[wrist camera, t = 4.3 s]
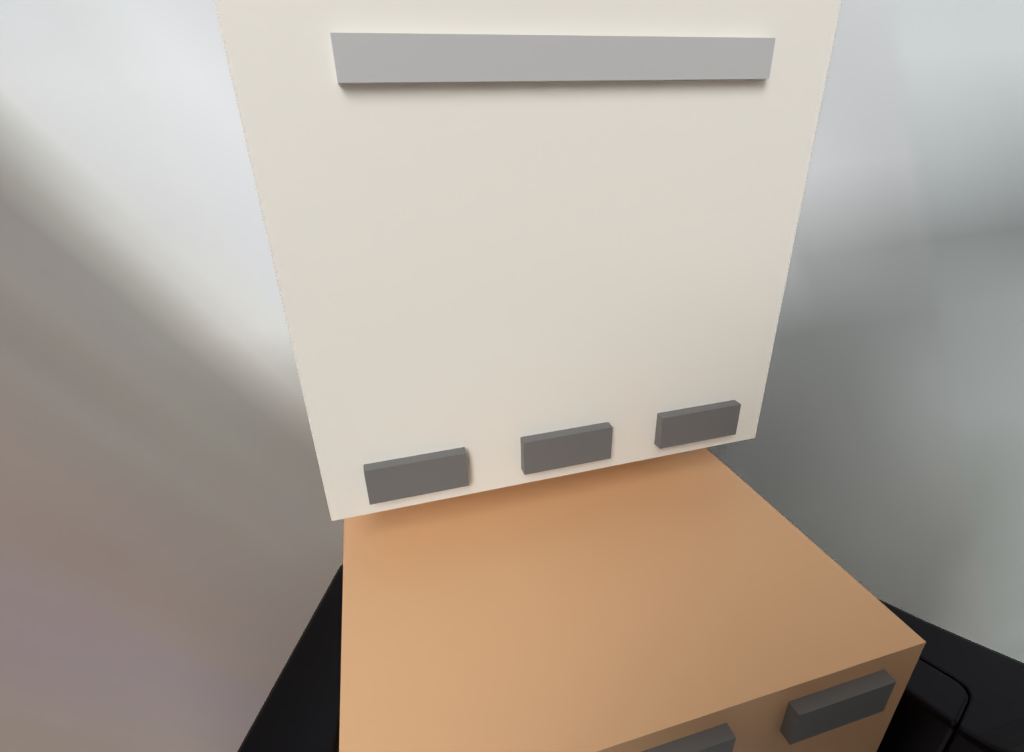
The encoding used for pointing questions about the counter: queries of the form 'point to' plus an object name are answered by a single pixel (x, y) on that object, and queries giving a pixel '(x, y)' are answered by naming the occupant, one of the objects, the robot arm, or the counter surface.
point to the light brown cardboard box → (611, 622)
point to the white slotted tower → (526, 225)
